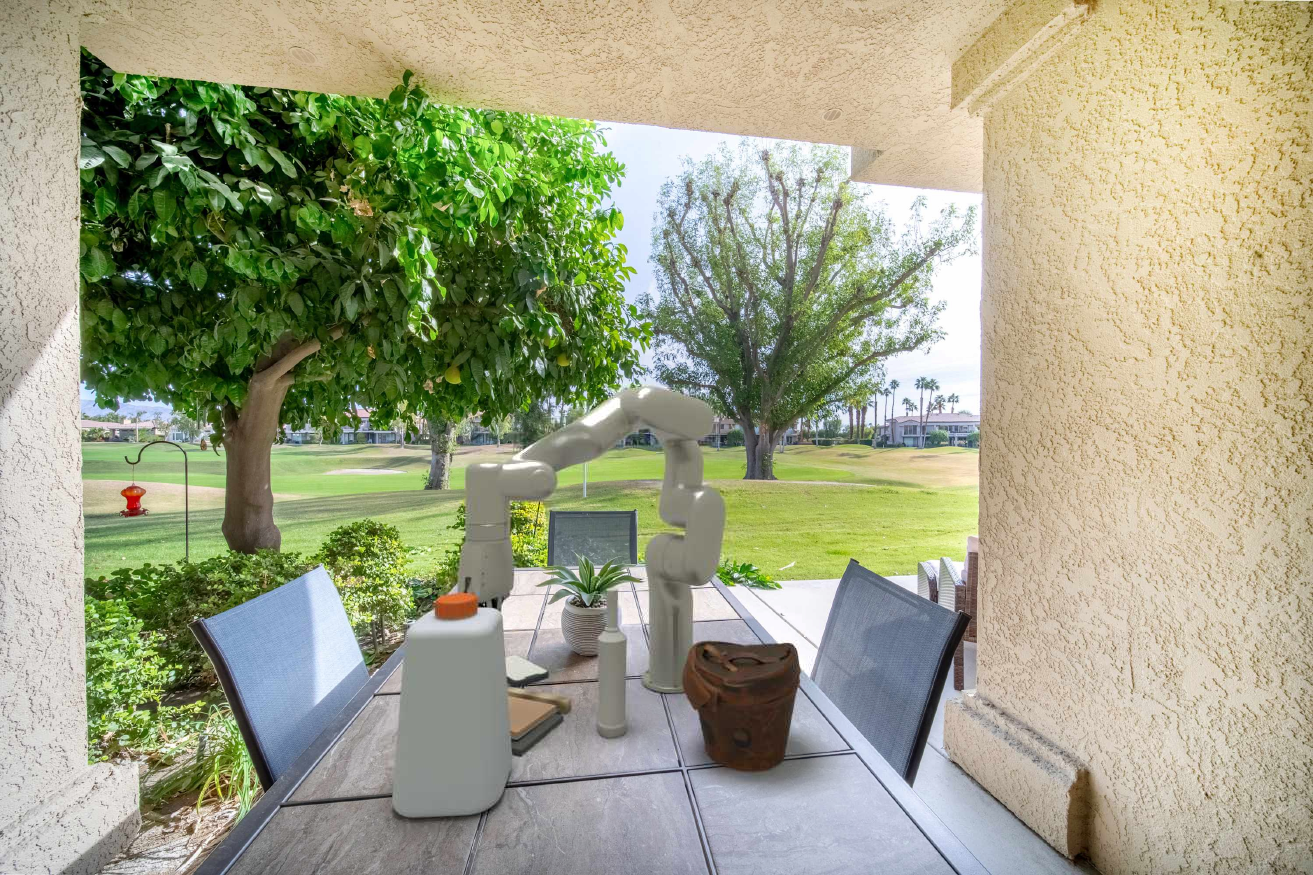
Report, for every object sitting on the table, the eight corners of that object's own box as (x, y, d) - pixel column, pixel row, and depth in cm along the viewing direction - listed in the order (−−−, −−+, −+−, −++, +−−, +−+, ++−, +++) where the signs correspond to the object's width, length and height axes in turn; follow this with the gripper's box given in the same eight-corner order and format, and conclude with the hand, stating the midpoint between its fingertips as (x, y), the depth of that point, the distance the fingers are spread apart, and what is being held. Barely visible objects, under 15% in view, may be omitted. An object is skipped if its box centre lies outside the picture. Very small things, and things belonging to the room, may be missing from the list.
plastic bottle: (420, 762, 91) (421, 586, 92) (516, 758, 92) (516, 584, 93) (382, 824, 76) (383, 613, 77) (497, 818, 77) (497, 610, 78)
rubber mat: (563, 720, 105) (563, 715, 105) (521, 756, 93) (521, 750, 93) (484, 704, 112) (484, 699, 112) (435, 735, 100) (435, 729, 100)
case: (664, 736, 99) (665, 633, 99) (763, 716, 106) (764, 620, 106) (712, 796, 82) (713, 672, 82) (825, 768, 90) (826, 654, 90)
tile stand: (571, 709, 109) (571, 698, 109) (561, 717, 106) (561, 705, 106) (502, 696, 115) (502, 685, 115) (491, 703, 112) (491, 691, 112)
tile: (495, 693, 112) (451, 717, 100) (556, 705, 106) (517, 732, 95) (494, 699, 111) (451, 724, 100) (556, 711, 106) (517, 739, 95)
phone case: (481, 669, 131) (514, 689, 119) (481, 662, 131) (514, 682, 119) (516, 660, 137) (551, 678, 125) (516, 653, 137) (551, 671, 125)
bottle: (631, 726, 102) (631, 587, 103) (620, 740, 98) (619, 594, 98) (604, 722, 104) (604, 584, 105) (592, 735, 99) (592, 591, 100)
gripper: (497, 526, 108) (498, 623, 107) (440, 538, 94) (440, 650, 94) (531, 527, 105) (531, 628, 105) (476, 540, 91) (477, 656, 91)
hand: (488, 638), depth 99 cm, fingers closed
